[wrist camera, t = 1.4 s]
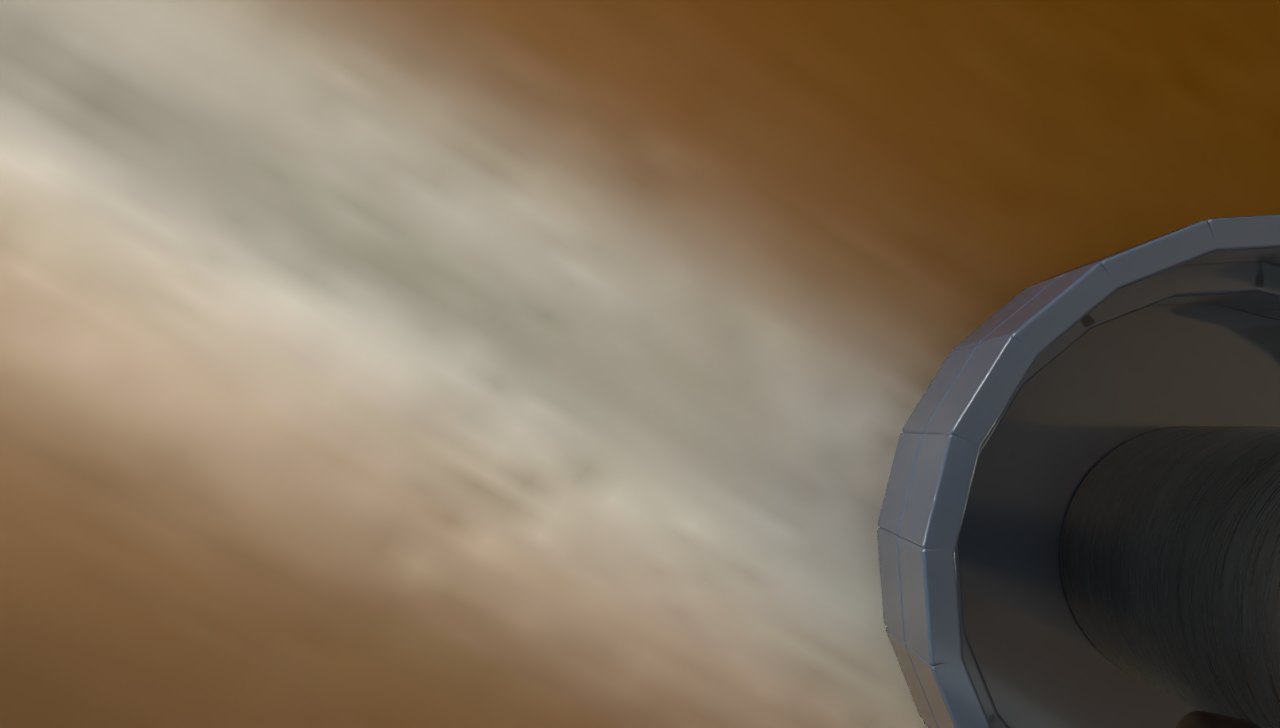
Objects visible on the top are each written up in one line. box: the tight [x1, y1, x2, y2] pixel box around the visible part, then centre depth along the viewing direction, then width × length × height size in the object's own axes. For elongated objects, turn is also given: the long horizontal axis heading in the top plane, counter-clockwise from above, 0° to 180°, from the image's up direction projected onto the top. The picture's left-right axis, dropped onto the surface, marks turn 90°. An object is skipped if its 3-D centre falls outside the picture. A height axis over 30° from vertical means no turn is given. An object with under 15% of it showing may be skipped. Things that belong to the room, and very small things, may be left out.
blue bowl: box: [877, 214, 1280, 728], centre depth 21 cm, size 13×13×4 cm
